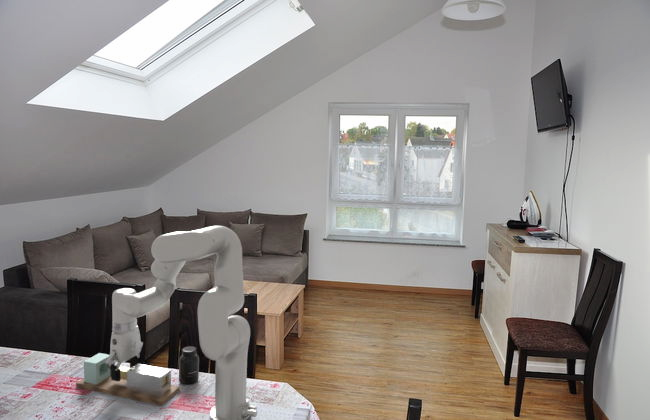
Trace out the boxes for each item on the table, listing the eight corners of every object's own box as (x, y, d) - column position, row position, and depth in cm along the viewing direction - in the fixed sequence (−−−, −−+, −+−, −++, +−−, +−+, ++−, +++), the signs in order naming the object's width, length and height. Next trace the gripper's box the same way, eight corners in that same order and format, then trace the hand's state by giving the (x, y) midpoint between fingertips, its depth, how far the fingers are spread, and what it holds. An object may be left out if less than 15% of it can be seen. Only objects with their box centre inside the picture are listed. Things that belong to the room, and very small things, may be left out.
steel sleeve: (170, 388, 152) (170, 369, 151) (160, 396, 146) (160, 377, 146) (138, 382, 155) (138, 363, 154) (127, 389, 150) (126, 370, 149)
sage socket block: (111, 375, 159) (111, 355, 158) (96, 384, 152) (95, 363, 152) (99, 372, 161) (99, 352, 160) (84, 382, 154) (83, 361, 153)
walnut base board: (179, 390, 153) (179, 386, 153) (161, 405, 144) (161, 401, 144) (98, 374, 163) (98, 370, 162) (76, 387, 153) (76, 383, 153)
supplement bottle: (192, 386, 156) (193, 354, 155) (175, 384, 158) (175, 351, 156) (202, 377, 163) (202, 346, 162) (185, 375, 164) (185, 343, 163)
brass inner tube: (166, 383, 150) (166, 374, 150) (160, 387, 148) (160, 378, 147) (116, 373, 156) (116, 364, 156) (110, 377, 153) (109, 368, 153)
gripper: (115, 336, 142) (116, 388, 144) (151, 318, 158) (151, 365, 160) (95, 333, 144) (96, 384, 146) (133, 315, 160) (133, 361, 162)
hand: (125, 374), depth 153 cm, fingers open, 8 cm apart
